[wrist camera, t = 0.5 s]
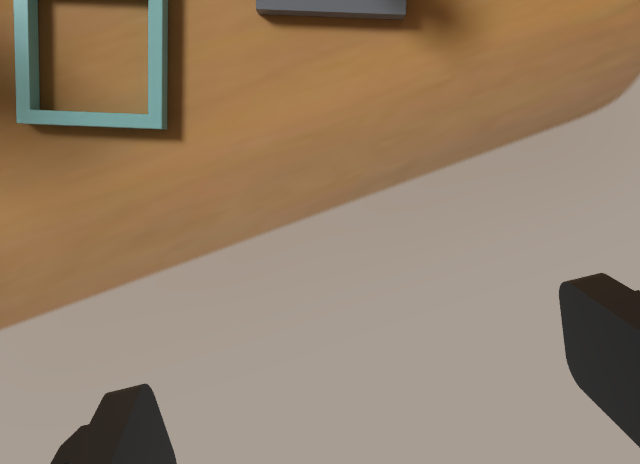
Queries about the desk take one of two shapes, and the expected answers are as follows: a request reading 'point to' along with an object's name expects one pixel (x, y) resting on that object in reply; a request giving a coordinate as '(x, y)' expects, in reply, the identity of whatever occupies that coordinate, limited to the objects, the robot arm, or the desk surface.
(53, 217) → the desk surface
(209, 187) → the desk surface
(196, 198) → the desk surface
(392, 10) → the charcoal port
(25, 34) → the frame
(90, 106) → the desk surface
